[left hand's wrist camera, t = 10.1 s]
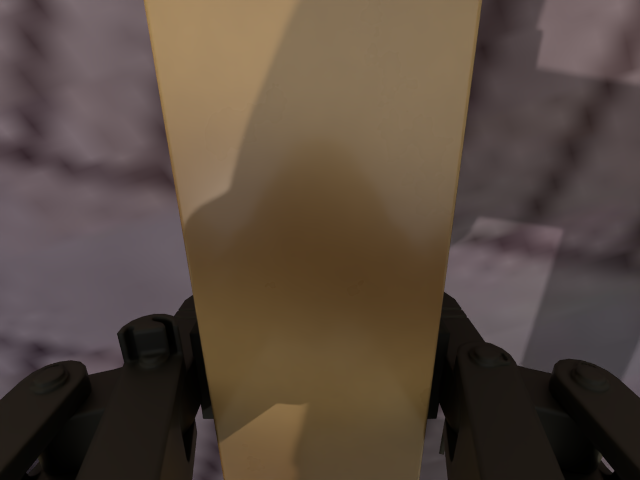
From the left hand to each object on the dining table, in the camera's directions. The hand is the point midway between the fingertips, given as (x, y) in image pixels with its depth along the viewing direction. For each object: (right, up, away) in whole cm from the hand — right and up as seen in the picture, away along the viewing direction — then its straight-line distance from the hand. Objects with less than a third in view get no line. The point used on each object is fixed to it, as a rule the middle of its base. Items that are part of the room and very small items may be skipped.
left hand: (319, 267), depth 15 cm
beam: (0, +23, -8) cm, 24 cm away
